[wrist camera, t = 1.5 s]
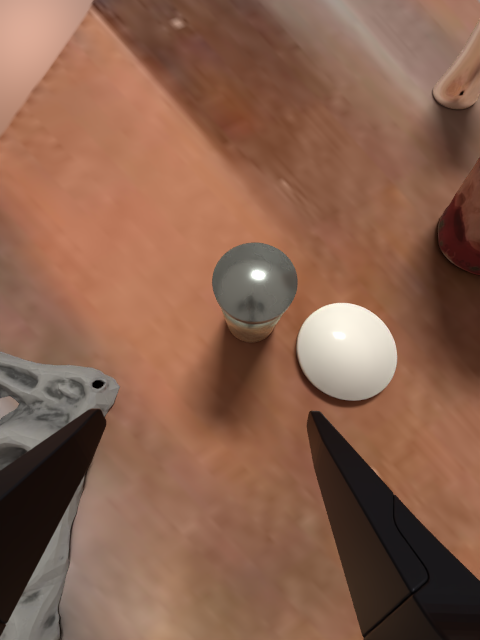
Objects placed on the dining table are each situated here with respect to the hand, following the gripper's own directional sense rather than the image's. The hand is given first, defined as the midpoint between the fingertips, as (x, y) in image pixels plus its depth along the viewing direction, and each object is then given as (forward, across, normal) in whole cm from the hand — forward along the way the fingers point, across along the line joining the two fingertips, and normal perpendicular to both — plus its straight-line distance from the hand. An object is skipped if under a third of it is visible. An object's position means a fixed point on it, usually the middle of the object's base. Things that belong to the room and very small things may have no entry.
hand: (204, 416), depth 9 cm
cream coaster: (+13, -12, +6) cm, 19 cm away
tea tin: (+15, -2, +3) cm, 16 cm away
